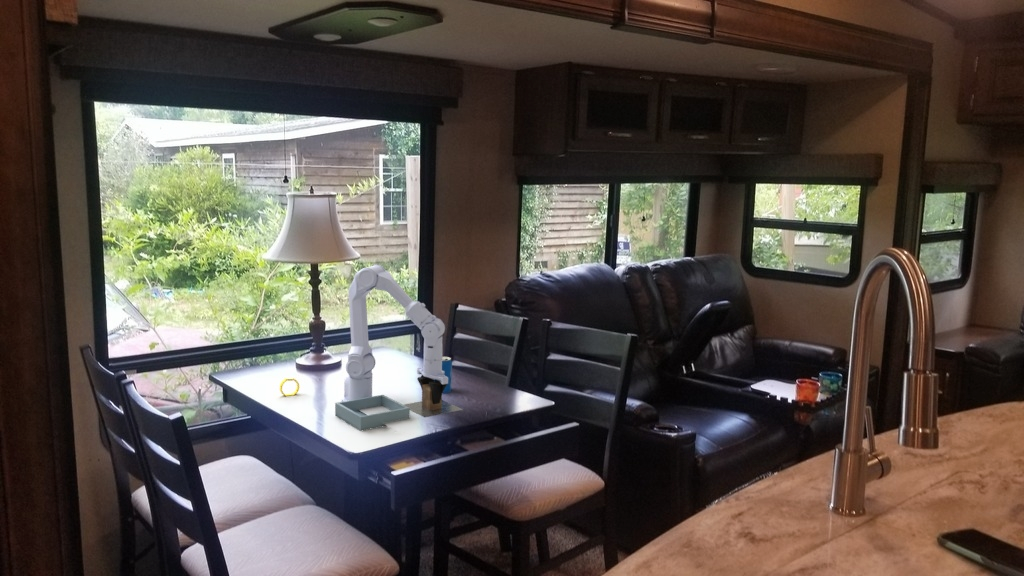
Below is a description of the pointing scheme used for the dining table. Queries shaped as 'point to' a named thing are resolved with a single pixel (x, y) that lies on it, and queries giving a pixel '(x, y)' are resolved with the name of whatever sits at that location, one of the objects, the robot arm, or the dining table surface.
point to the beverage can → (447, 372)
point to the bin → (363, 421)
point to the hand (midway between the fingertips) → (431, 401)
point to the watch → (289, 380)
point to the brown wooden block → (429, 398)
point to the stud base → (425, 412)
